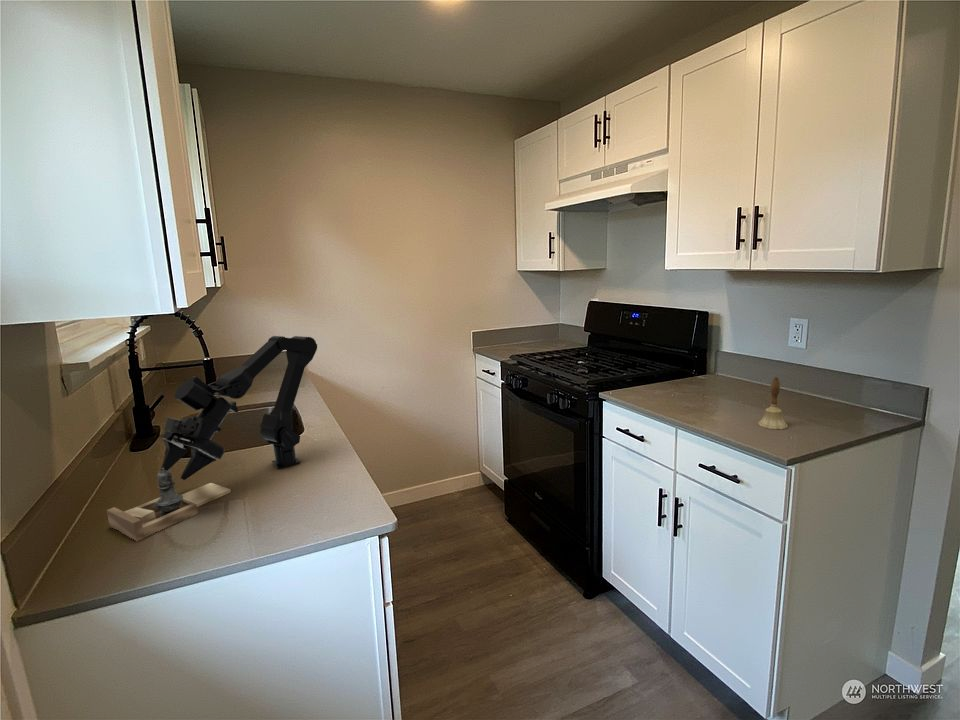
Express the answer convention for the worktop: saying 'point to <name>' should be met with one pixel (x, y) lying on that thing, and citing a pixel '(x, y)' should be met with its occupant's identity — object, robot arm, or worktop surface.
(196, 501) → the cork mat
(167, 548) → the worktop surface
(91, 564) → the worktop surface
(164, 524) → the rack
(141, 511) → the offcut upper
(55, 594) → the worktop surface
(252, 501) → the worktop surface
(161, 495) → the grey chess piece
